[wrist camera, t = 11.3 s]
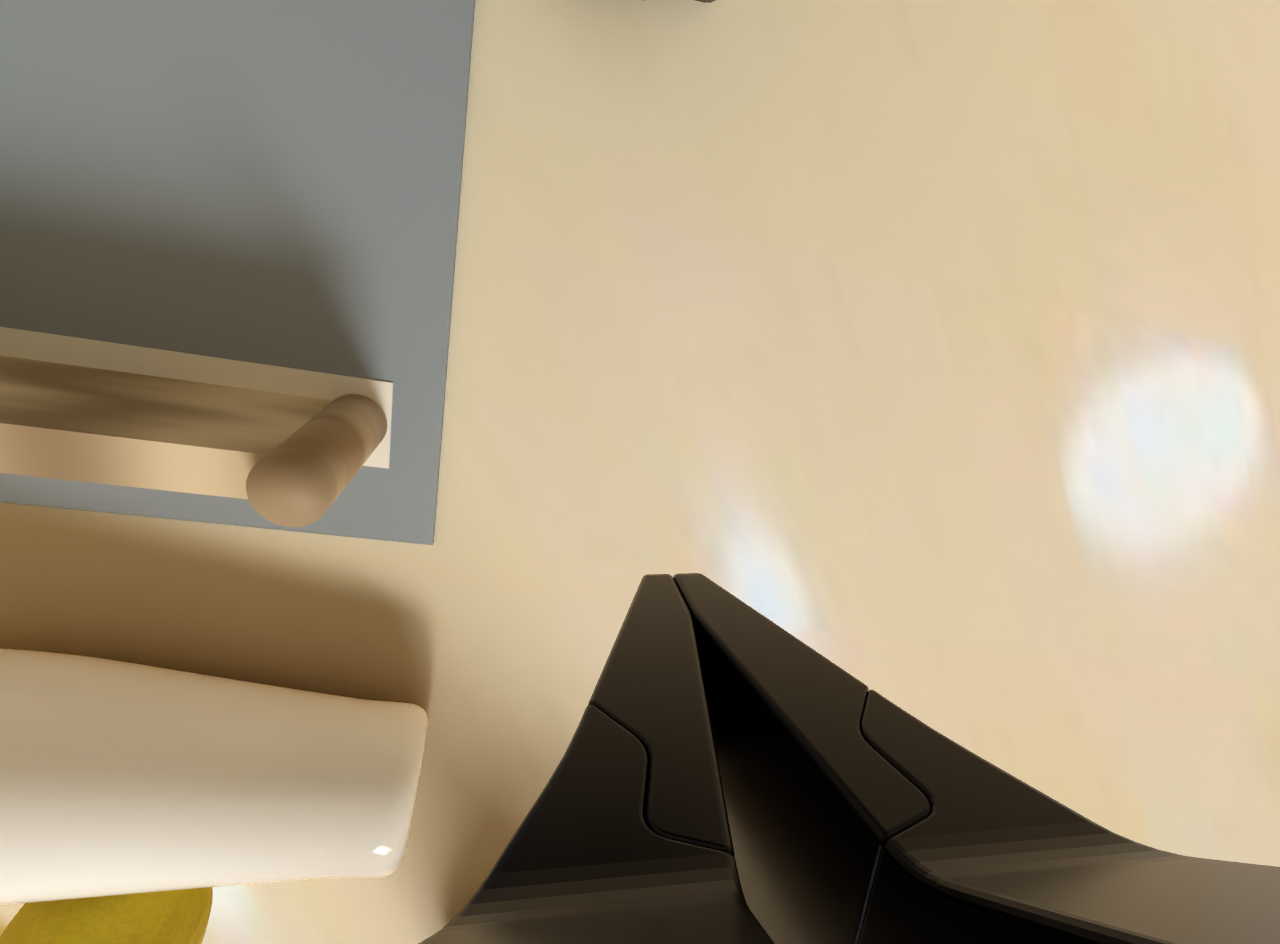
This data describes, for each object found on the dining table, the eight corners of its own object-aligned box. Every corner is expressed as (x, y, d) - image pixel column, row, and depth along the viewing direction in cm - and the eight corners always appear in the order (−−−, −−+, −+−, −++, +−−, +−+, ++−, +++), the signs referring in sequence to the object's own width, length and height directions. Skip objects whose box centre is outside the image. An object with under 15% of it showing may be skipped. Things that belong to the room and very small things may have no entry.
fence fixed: (-163, 392, 18) (-476, 468, 12) (-186, 305, 17) (-533, 346, 11) (387, 459, 20) (327, 546, 15) (391, 387, 19) (328, 451, 14)
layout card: (-652, -512, 11) (-676, -527, 11) (487, -171, 15) (486, -177, 15) (-299, 468, 18) (-310, 472, 18) (433, 542, 21) (432, 545, 21)
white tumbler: (441, 647, 24) (-38, 601, 20) (420, 774, 18) (-282, 741, 14) (415, 795, 26) (-37, 778, 22) (386, 960, 19) (-257, 977, 16)
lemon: (194, 903, 26) (57, 1171, 19) (58, 846, 24) (-155, 1121, 17) (278, 824, 25) (169, 1073, 18) (144, 758, 23) (-40, 1007, 16)
